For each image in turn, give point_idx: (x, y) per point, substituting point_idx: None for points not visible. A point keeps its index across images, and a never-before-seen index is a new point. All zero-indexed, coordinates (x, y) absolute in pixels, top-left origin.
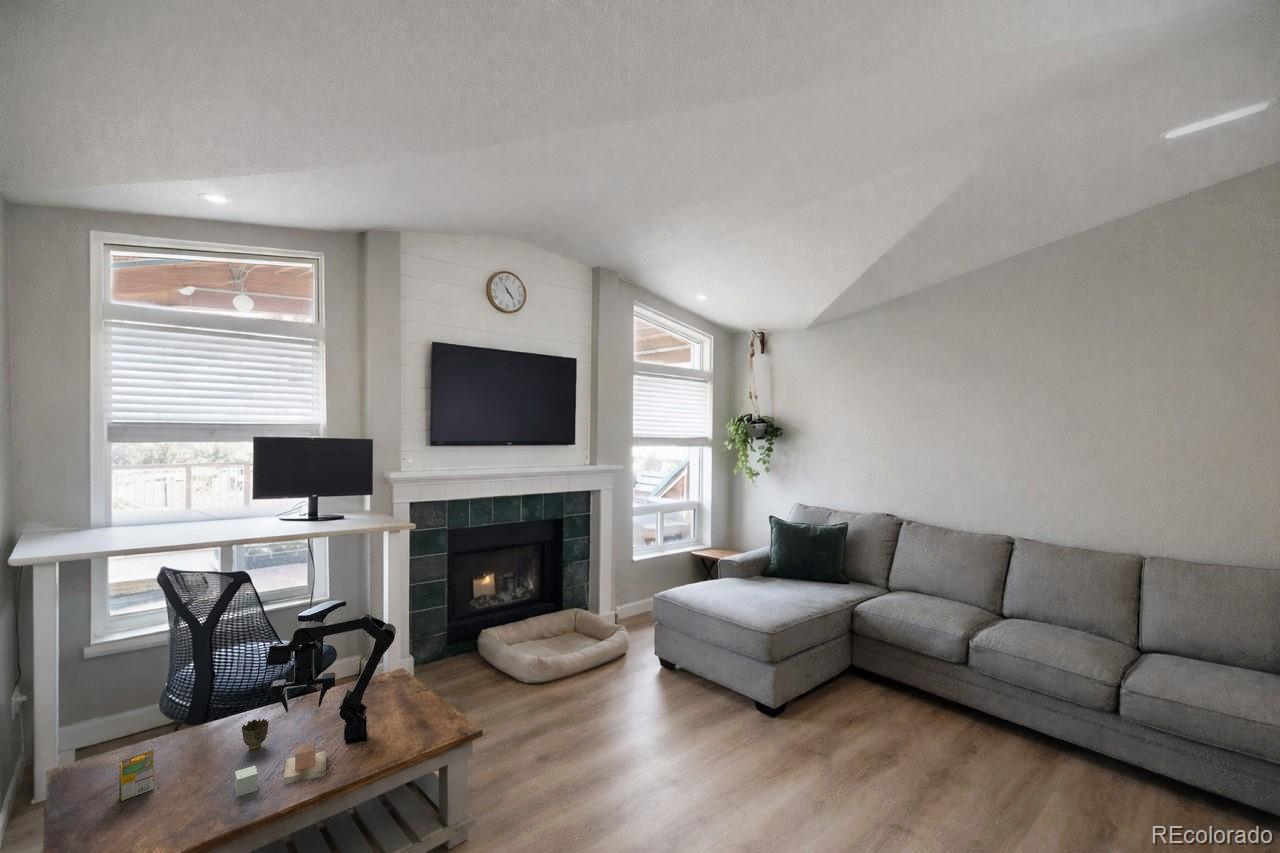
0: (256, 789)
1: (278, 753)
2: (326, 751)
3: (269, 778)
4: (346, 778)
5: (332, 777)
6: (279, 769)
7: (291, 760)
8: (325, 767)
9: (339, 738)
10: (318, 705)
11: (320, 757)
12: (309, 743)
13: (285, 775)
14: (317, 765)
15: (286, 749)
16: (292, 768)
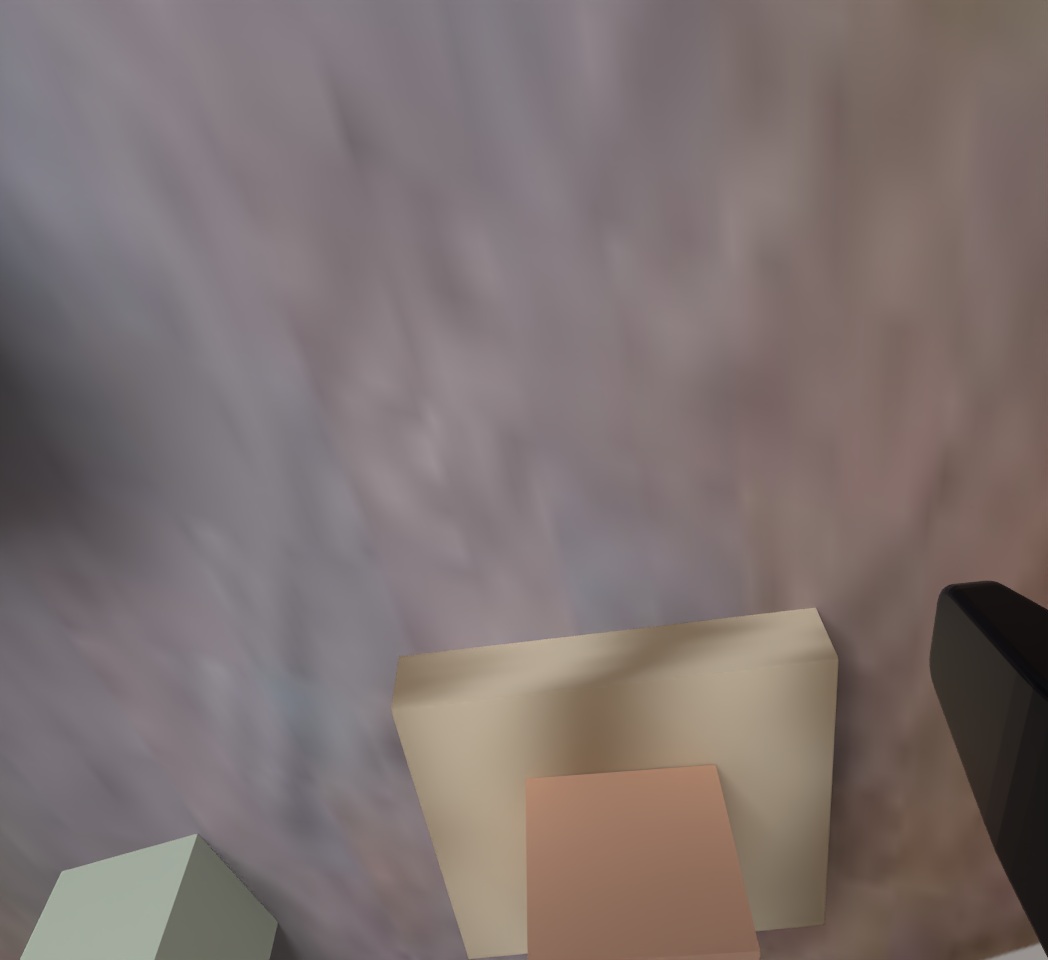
0: (270, 931)
1: (187, 392)
2: (837, 670)
3: (310, 816)
4: (971, 931)
5: (863, 902)
6: (350, 714)
7: (456, 748)
8: (823, 907)
9: (1019, 176)
10: (962, 762)
11: (770, 760)
12: (683, 957)
13: (473, 937)
14: (746, 868)
15: (258, 310)
16: (509, 866)
